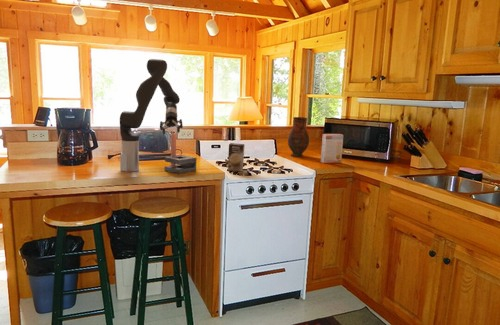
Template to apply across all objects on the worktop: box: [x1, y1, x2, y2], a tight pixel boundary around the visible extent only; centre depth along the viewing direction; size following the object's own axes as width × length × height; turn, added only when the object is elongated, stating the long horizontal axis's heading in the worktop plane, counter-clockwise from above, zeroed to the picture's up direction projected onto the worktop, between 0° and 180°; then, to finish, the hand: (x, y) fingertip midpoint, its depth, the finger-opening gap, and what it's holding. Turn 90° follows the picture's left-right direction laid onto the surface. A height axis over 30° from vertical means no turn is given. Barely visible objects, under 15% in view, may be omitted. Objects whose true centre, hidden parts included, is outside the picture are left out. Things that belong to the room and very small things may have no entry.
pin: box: [170, 133, 177, 166], centre depth 229 cm, size 3×3×20 cm
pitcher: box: [287, 116, 310, 158], centre depth 291 cm, size 17×21×30 cm
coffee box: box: [227, 142, 245, 172], centre depth 228 cm, size 9×6×16 cm
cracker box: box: [320, 133, 344, 164], centre depth 269 cm, size 14×6×21 cm, turn 108°
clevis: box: [164, 154, 197, 175], centre depth 218 cm, size 14×12×8 cm
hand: (171, 132), depth 236 cm, fingers open, 8 cm apart
